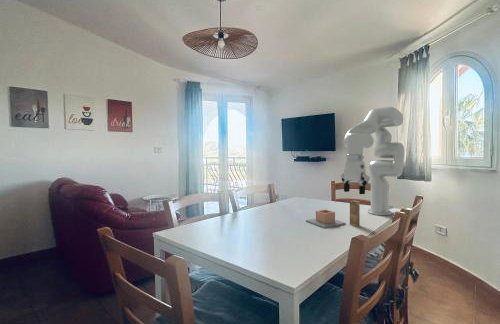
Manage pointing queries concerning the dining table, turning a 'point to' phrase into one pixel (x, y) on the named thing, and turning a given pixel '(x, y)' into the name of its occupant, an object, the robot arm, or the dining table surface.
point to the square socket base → (325, 219)
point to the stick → (355, 213)
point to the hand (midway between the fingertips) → (354, 192)
